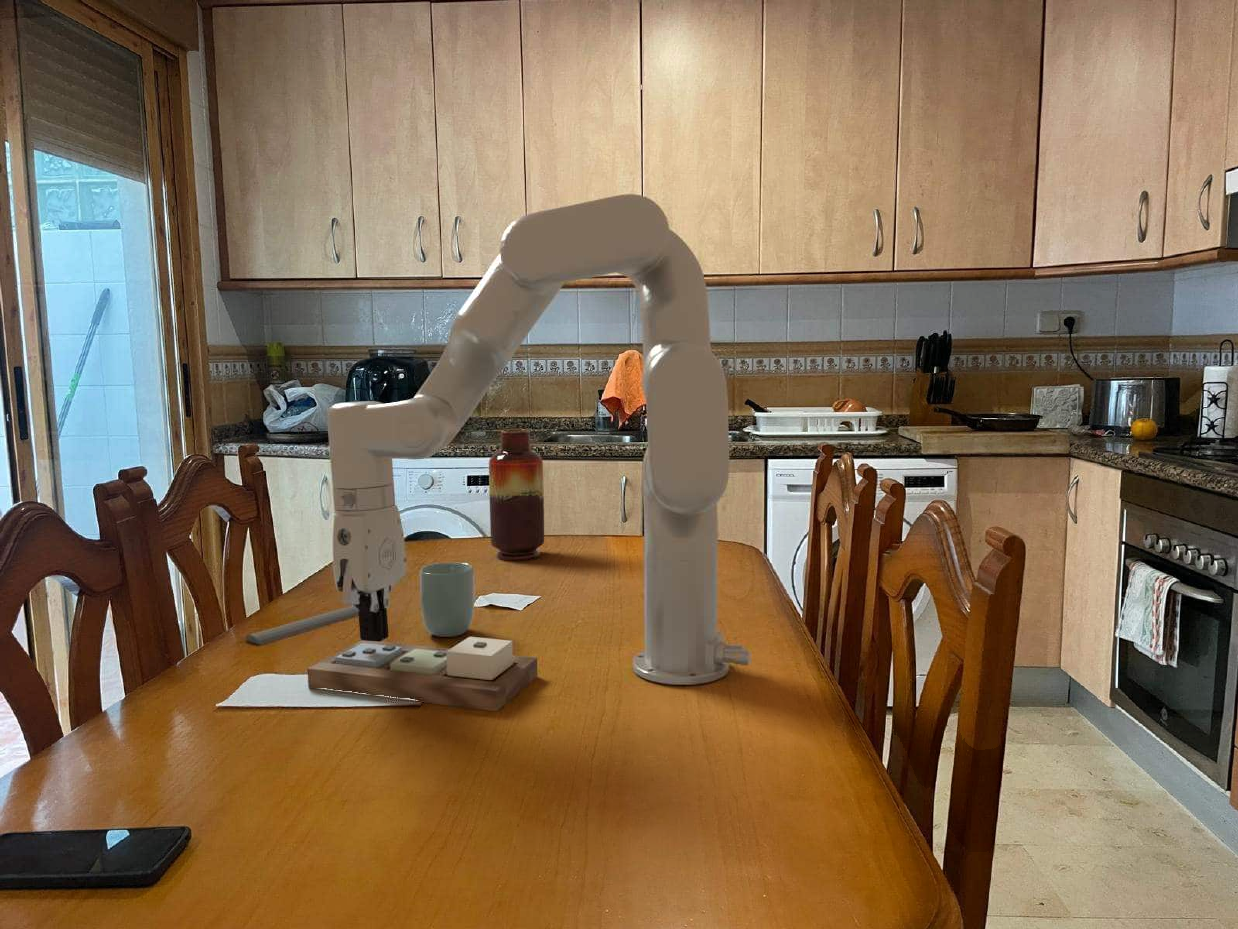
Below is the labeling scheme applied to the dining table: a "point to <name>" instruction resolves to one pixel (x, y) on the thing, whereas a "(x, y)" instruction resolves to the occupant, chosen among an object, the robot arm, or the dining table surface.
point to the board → (424, 681)
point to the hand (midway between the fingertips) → (374, 638)
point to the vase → (516, 498)
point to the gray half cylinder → (302, 626)
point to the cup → (447, 598)
